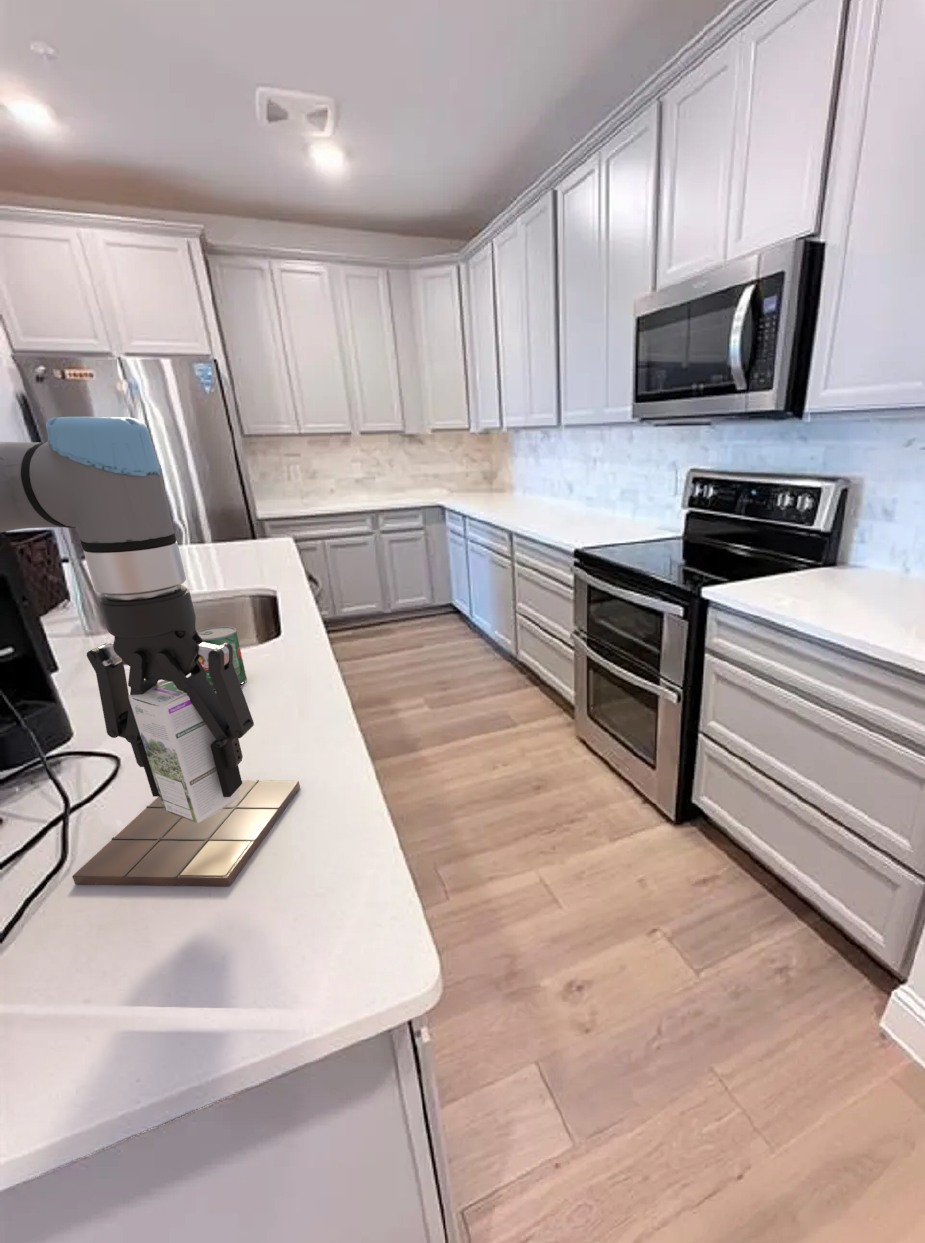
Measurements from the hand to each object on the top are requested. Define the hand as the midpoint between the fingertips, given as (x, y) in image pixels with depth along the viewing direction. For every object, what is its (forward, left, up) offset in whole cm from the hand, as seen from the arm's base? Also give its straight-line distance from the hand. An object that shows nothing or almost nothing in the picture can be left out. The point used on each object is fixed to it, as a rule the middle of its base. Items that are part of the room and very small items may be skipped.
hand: (198, 789), depth 66 cm
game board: (-6, +7, -11) cm, 14 cm away
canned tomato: (-28, +55, -11) cm, 62 cm away
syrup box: (0, 0, -2) cm, 2 cm away
